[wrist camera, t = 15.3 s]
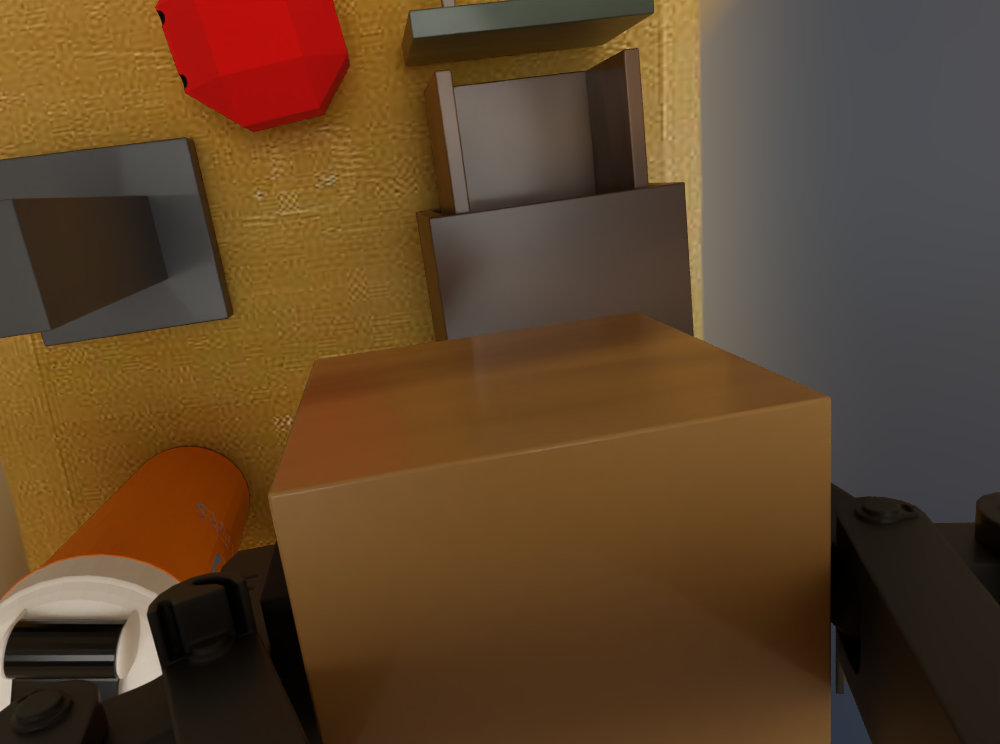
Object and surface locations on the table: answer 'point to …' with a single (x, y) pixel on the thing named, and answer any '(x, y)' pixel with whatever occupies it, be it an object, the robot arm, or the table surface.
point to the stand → (107, 243)
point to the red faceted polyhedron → (257, 56)
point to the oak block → (560, 542)
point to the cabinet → (559, 262)
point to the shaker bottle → (121, 576)
